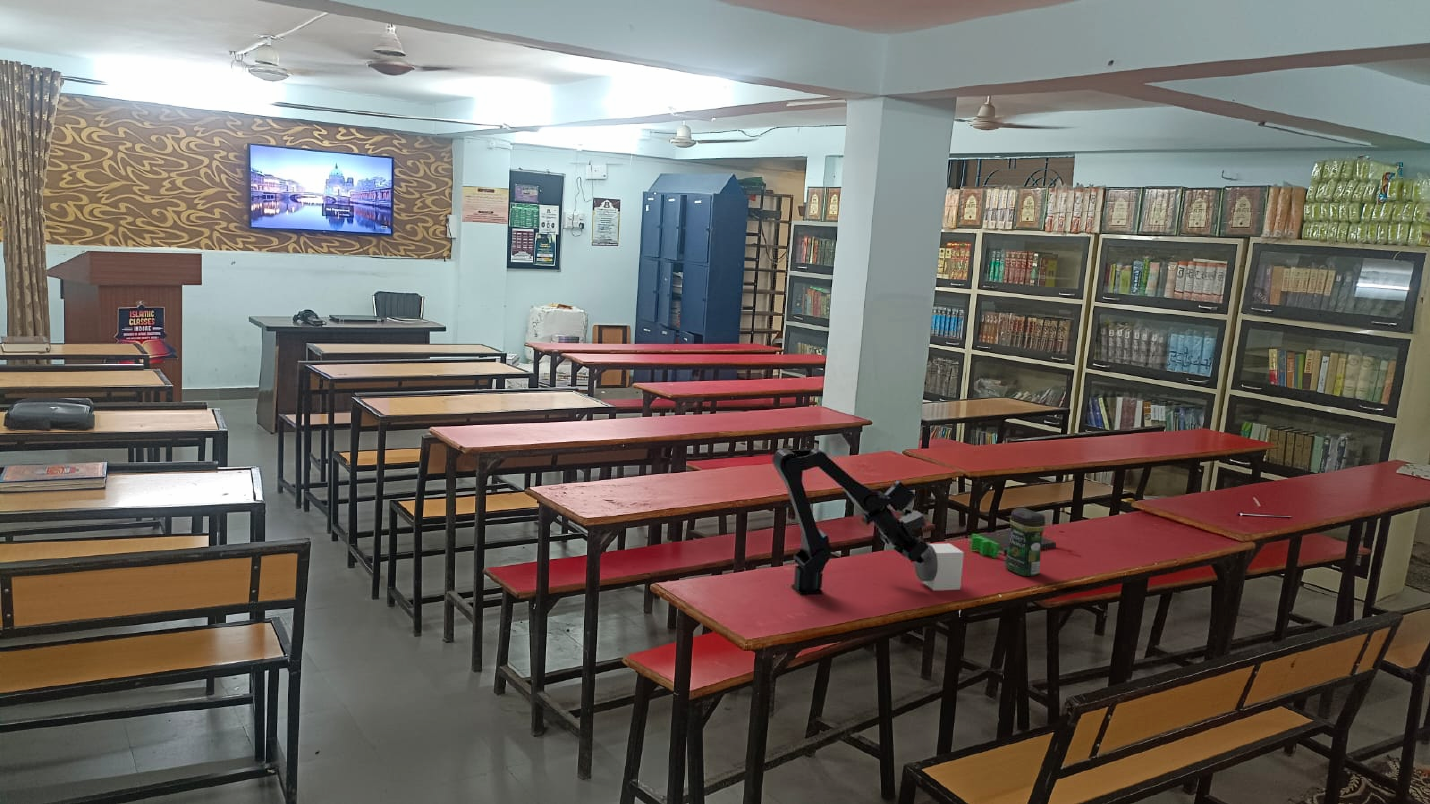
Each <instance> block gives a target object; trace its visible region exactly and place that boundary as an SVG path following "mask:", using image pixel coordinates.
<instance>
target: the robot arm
mask: <svg viewBox="0 0 1430 804" xmlns="http://www.w3.org/2000/svg"><path fill="white" fill-rule="evenodd" d="M771 461H772V464H773V466H774V469H775V470H776V473H777V474H778V475H779V476H780V478H781V479H782V482H783V483H784V485H785V486H786V489H787V492H788V495H789V498H790V502H791V504H792V508H793V511H794V514H795V517H796V518H797V519H796V520H797V522H798V525H799V529H800V532H801V536H800V542H801V543H800V545H801V548H800V549H799V550H797V552H796V553H794V555H793V560H794V563H795V564H797V565H796V566H795V567H794V581H793V582H794V583H793V584H791V585H790V586H791V588H793V590H795V591H796V592H797V593H798V594H799V595H812V594H823V593H824V592H823V590H822V587H823V586H822V585H823V571H824V569H825V566H826V564H827V563H828V562H829V561H830V559H831V557H832V552H831V551H833V547H832V546H831V544H830V540H829V539H830V538H829V535H827V534H826V533H825V532H824V531H823V530H822V529H820V528H819V529H818V526H817V524H816V523H817V522H816V520H815V516H814V514H813V510H812V507H811V504H810V502H809V500H808V496H807V493H806V489H805V487H804V484H803V474H804V473H803V472H804V471H808V470H810V469H813V468H818V469H819V470H821V471H822V472H823V473H824V474H825V475H826V476H828V477H829V478H830V479H832V480H833V482H835V483H836V484H837V485H838V486H839V487H841V488H842V489H843V491H844V492H845V493H846V495H847V496H848V498H849V499H850V500H851V501H852V503H853V504H854V505H855V506H857V507H858V508H860V509H861V510H863V511H864V512H863V513H862V518H861V522H862V523H863V524H865V525H866V526H869V525H870V524H871V523H873V524H874V525H875V527H876V528H877V529H878V533H880V539H881V540H882V541H883V542H884V543H885V544H886V545H891V546H893V547H894V548H893V550H895V552H897V553H899V554H900V555H902V557H904V558H906V559H907V560H908V561H910V562H911V563H914V562H915V561H916V562H918V563H922V562H923V559H922V556H921V555H922V554H923V553H924V552H925V551H926V550H927V549H928V547H929V546H928V544H929V543H927V542H926V541H925V540H924V539H922V538H921V537H915V536H913V535H914V534H915V533H914V532H915V531H917V530H919V529H921V528H924V527H926V526H927V523H926V519H925V517H924V514H923V513H921V512H919V511H918V510H915V509H912V510H911V509H909V508H907V507H908V506H909V505H910V504H911V503H912V502H913V501H914V500H915V499H916V498H917V496H916V494H915V493H914V491H912V490H910V488H909V487H907V486H906V485H905V484H904V483H903V482H902V481H900V480H896V481H895V482H894V483H893V485H892V486H891V487H890V488H889V489H888V490H887V491H885V492H884V493H883V492H881V491H878V490H873V489H871V488H869V487H868V486H867V485H865V484H863V483H861V482H859V481H858V480H856V479H854V477H852V476H851V475H849V473H847V472H846V471H845V470H844V469H843V468H842V467H840V466H839V465H838V464H837V463H835V462H834V461H833V459H831V458H829V456H828V455H827V454H826V453H825V452H824V451H822V450H820V449H819V448H812V449H811V448H810V449H792V450H791V449H788V448H780V449H777V450H776V451H775V453H773V456H772V459H771ZM891 510H892V511H893V512H892V511H891ZM897 511H898V512H899V513H901V516H900V517H901V518H899V517H897V516H896V515H895V514H894V512H895V513H896V512H897Z"/></svg>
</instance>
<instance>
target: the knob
mask: <svg viewBox="0 0 1430 804" xmlns="http://www.w3.org/2000/svg"><path fill="white" fill-rule="evenodd" d="M927 544H928V546H929V547H928V549H927V550H926V551H925V552H924V553H923V554H922V555H921V556H922V559H923V562H922V563H918V562H916V561H915V562H913V567H914V571H915V574H916V577H917V578H918V579H919V581H920V580H921V581H920V582H922V581H932V580H934V578H935V577H936V574H937V568H938V563H937V556H936V553H935V550H934V548H933V547H932V546H931V545H929V544H930V543H927Z"/></svg>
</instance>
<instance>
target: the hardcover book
mask: <svg viewBox="0 0 1430 804" xmlns="http://www.w3.org/2000/svg"><path fill="white" fill-rule="evenodd" d="M1010 533H1011V529H1008V530H999V531H994V532H987V533H979V534H977V535H979V536H982V537H984V538H986V539H989V540H991V541H993V542H996V543H998V544H999V551H998V552H999V553H1002V554H1004V555H1006V554H1007V551H1008V546H1009V540H1010ZM997 534H999V535H997ZM966 537H967V538H968V539H972V534H971V535H967V536H966ZM968 539H967V541H968V542H969V541H971V540H968ZM1053 547H1057V543H1056V541H1053V540H1051V539H1048V538H1045V537H1043V536H1042V540H1041V551H1043V550H1042V549H1044V550H1046V549H1045V548H1051V549H1054V548H1053ZM999 553H998V554H999ZM1002 554H1001V555H1002ZM1004 555H1003V556H1004ZM1006 556H1007V555H1006Z"/></svg>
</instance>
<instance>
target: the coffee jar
mask: <svg viewBox="0 0 1430 804" xmlns="http://www.w3.org/2000/svg"><path fill="white" fill-rule="evenodd" d="M1009 522H1010V530H1011V533H1010V540H1009V546H1008V551H1007V555H1006V558H1005V565H1004V566H1005V568H1006V570H1009V571H1011V572H1013V573H1015V574H1017V575H1019V576H1023V577H1024V576H1025V577H1026V576H1028V577H1035V576H1037V575H1038V574H1040V573H1041V572H1040V571H1041V555H1042V554H1041V553H1042V552H1041V551H1042V550H1041V540H1042V537H1043V532H1044V530H1045V528H1046V518H1045V515H1044V514H1043V513H1040V512H1039V513H1038V512H1036V511H1033V510H1031V509H1028V508H1026V507H1018V508H1013V510H1012V511H1011V515H1010V519H1009Z"/></svg>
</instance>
